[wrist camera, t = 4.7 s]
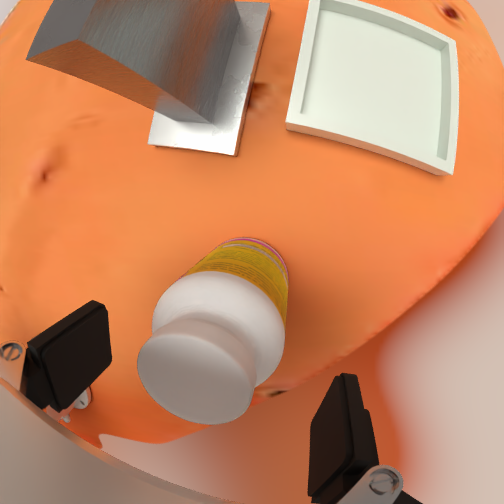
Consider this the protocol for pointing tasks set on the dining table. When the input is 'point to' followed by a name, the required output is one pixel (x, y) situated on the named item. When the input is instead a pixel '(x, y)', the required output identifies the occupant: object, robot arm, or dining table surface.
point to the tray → (377, 84)
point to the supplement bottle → (217, 333)
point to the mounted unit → (163, 61)
